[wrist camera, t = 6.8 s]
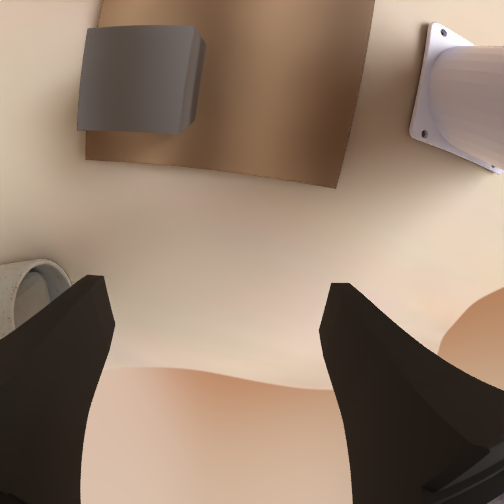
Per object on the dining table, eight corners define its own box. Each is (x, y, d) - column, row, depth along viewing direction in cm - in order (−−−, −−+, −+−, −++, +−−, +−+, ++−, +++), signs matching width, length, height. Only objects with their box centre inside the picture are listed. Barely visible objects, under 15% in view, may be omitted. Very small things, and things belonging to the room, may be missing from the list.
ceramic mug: (-15, 251, 18) (-67, 310, 12) (54, 236, 18) (-5, 309, 12) (38, 345, 24) (9, 408, 17) (106, 346, 24) (82, 422, 17)
